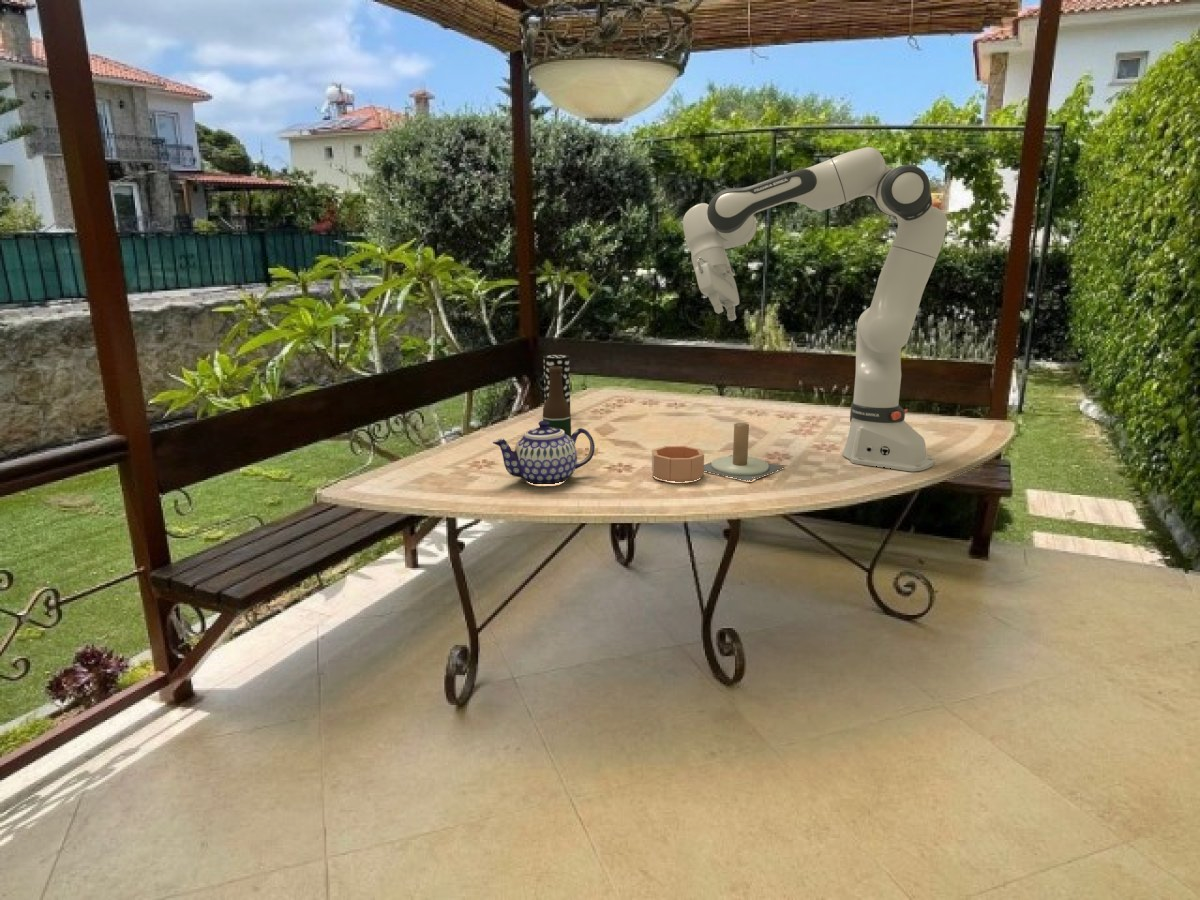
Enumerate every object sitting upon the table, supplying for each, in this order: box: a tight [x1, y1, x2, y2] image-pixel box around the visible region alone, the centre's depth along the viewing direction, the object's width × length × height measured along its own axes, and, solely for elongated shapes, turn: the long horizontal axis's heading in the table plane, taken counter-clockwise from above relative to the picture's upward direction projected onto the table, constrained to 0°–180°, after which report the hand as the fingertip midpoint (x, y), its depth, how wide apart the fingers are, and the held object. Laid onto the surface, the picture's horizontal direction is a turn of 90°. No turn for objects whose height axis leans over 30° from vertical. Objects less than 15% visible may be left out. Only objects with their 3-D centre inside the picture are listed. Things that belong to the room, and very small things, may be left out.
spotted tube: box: [542, 354, 571, 409], centre depth 242 cm, size 8×8×20 cm
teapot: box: [492, 419, 595, 484], centre depth 176 cm, size 25×15×15 cm, turn 109°
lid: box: [711, 422, 769, 476], centre depth 185 cm, size 14×14×11 cm
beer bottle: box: [542, 366, 572, 436], centre depth 196 cm, size 8×8×24 cm
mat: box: [704, 454, 786, 481], centre depth 186 cm, size 16×16×1 cm
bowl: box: [651, 445, 705, 482], centre depth 180 cm, size 12×12×6 cm
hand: (726, 316), depth 188 cm, fingers open, 8 cm apart
